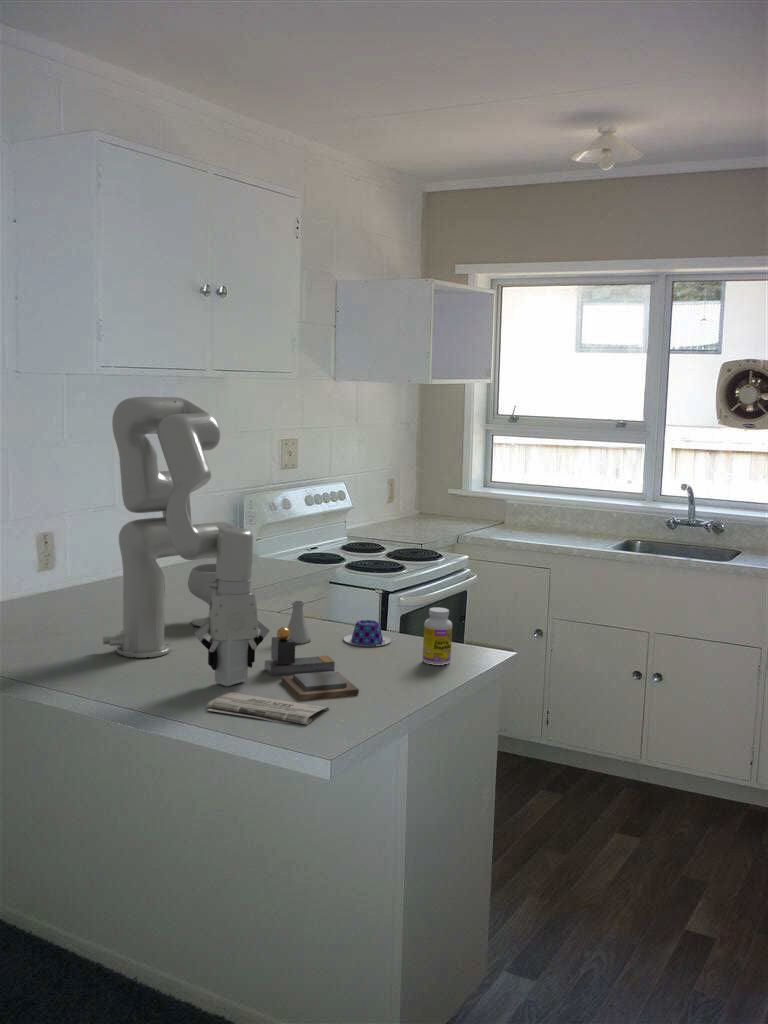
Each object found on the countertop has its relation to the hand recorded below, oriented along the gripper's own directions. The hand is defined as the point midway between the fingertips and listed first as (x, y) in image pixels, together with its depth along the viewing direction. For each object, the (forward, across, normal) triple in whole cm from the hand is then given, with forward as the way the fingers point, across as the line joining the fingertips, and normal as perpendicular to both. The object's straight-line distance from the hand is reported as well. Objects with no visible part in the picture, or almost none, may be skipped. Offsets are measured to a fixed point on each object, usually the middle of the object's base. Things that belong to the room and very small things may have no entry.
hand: (231, 666), depth 217 cm
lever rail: (+4, +17, +5) cm, 18 cm away
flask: (+4, +24, +29) cm, 38 cm away
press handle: (+1, +13, +5) cm, 14 cm away
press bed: (+3, +17, -9) cm, 20 cm away
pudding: (+4, +41, +24) cm, 48 cm away
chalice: (+5, +8, +51) cm, 52 cm away
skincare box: (+4, 0, 0) cm, 4 cm away
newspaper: (+4, +3, -19) cm, 20 cm away
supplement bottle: (+4, +50, +2) cm, 50 cm away
